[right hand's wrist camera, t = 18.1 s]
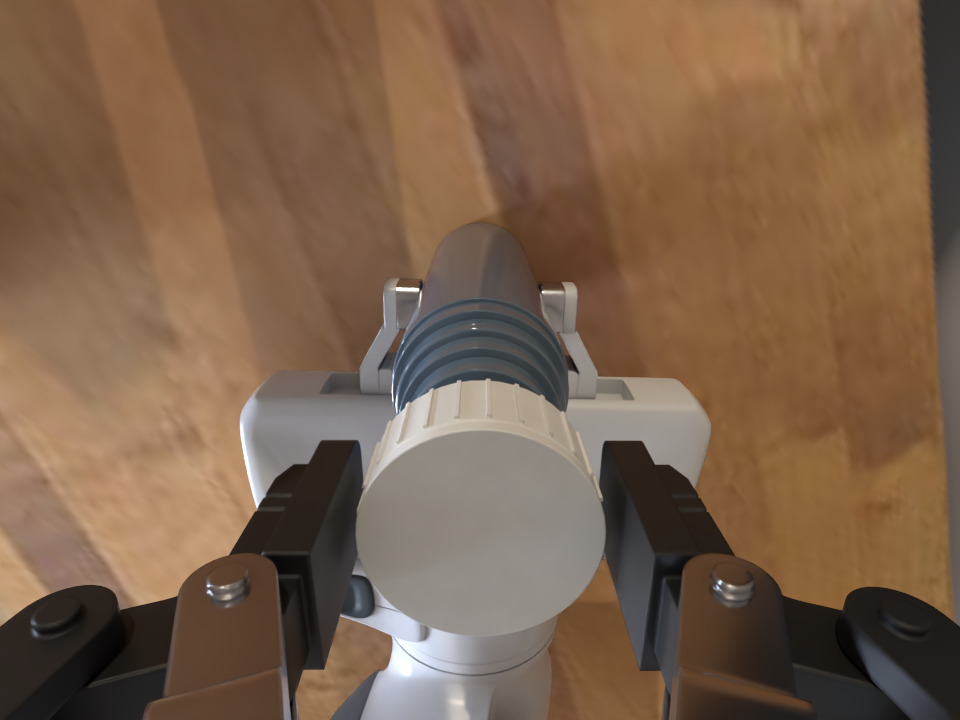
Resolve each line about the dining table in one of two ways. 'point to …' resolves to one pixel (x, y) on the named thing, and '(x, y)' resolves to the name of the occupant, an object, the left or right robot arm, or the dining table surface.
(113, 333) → the dining table surface
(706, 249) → the dining table surface
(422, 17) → the dining table surface
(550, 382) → the bottle
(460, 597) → the cap
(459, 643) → the left robot arm
